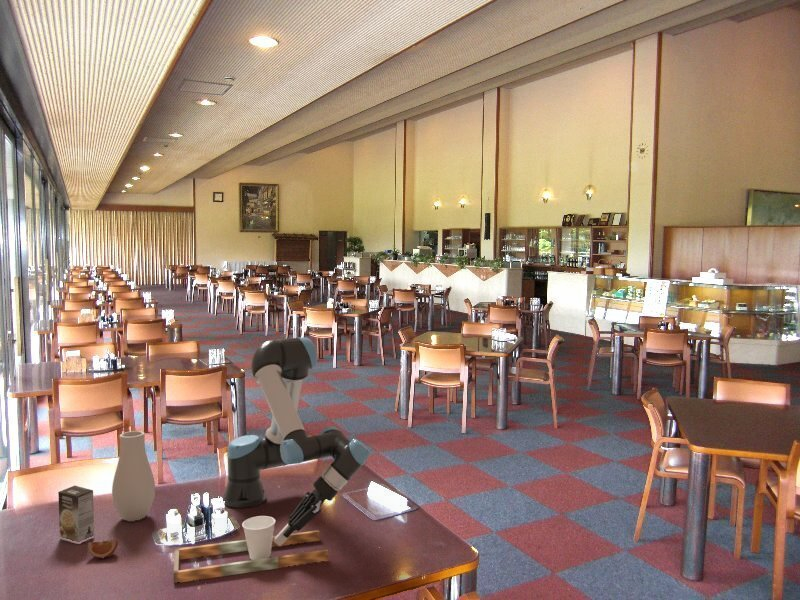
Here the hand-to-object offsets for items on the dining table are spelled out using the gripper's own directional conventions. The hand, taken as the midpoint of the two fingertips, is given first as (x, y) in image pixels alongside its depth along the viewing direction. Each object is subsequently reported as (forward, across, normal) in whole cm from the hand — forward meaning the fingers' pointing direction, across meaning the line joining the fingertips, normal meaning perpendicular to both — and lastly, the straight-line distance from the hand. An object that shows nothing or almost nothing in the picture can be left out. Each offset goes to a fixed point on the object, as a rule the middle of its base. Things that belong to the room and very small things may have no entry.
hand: (276, 543), depth 197 cm
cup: (+7, +1, 0) cm, 7 cm away
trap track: (+8, +1, +2) cm, 9 cm away
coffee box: (+45, +33, +39) cm, 68 cm away
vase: (+34, +44, +28) cm, 62 cm away
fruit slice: (+39, +17, +32) cm, 53 cm away
